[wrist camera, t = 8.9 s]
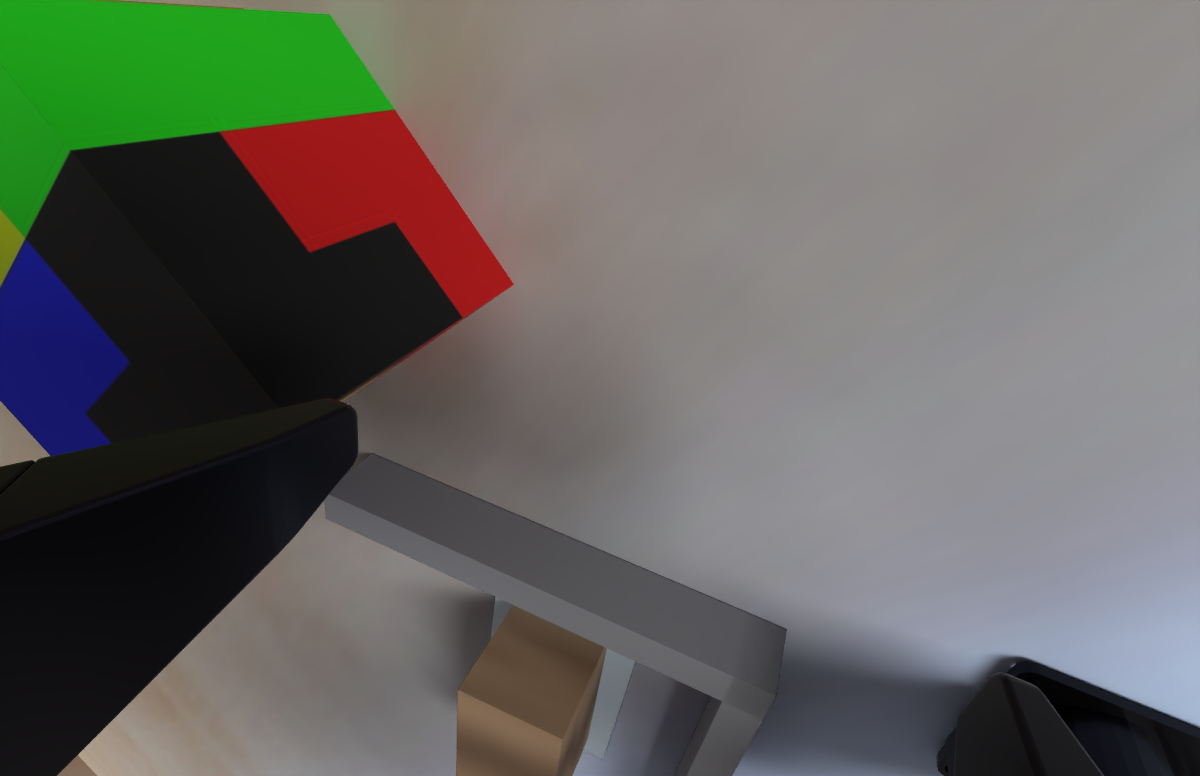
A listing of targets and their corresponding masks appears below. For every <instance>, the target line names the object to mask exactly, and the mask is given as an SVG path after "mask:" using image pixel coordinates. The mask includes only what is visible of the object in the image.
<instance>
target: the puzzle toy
mask: <svg viewBox="0 0 1200 776" xmlns="http://www.w3.org/2000/svg"><path fill="white" fill-rule="evenodd" d="M512 285H514V284H513V283H512V281H511V280H510V278H509V277H508V275H507V274H506V272H505V271H504V269H503V268H502V266H501V265H500V263H499V262H498V261H497V259H496V258H495V256H494V255H493V253H492V252H491V250H490V249H489V247H488V246H487V244H486V243H485V241H484V240H483V239H482V237H481V236H480V234H479V233H478V231H477V230H476V228H475V227H474V225H473V224H472V222H471V221H470V219H469V218H468V217H467V215H466V214H465V212H464V211H463V209H462V208H461V206H460V205H459V203H458V202H457V200H456V199H455V197H454V196H453V195H452V193H451V192H450V190H449V189H448V187H447V186H446V184H445V183H444V181H443V180H442V178H441V177H440V175H439V174H438V173H437V171H436V170H435V168H434V167H433V165H432V164H431V162H430V161H429V159H428V158H427V156H426V155H425V153H424V152H423V151H422V149H421V148H420V146H419V145H418V143H417V142H416V140H415V139H414V137H413V136H412V134H411V133H410V131H409V130H408V129H407V127H406V126H405V124H404V123H403V121H402V120H401V118H400V117H399V115H398V114H397V112H396V111H395V109H394V108H393V107H392V105H391V104H390V102H389V101H388V99H387V98H386V96H385V95H384V93H383V92H382V90H381V89H380V87H379V86H378V84H377V83H376V82H375V80H374V79H373V77H372V76H371V74H370V73H369V71H368V70H367V68H366V67H365V65H364V64H363V62H362V61H361V60H360V58H359V57H358V55H357V54H356V52H355V51H354V49H353V48H352V46H351V45H350V43H349V42H348V40H347V39H346V38H345V36H344V35H343V33H342V32H341V30H340V29H339V27H338V26H337V24H336V23H335V21H334V20H333V18H332V17H331V16H330V14H323V13H307V12H291V11H275V10H260V9H244V8H228V7H212V6H197V5H181V4H165V3H149V2H134V1H118V0H0V401H1V402H2V403H3V404H4V405H5V406H6V407H7V409H8V410H9V411H10V412H11V413H12V414H13V415H14V416H15V417H16V418H17V419H18V421H19V422H20V423H21V424H22V425H23V426H24V427H25V428H26V429H27V430H28V432H29V433H30V434H31V435H32V436H33V437H34V438H35V439H36V440H37V441H38V442H39V444H40V445H41V446H42V447H43V448H44V449H45V450H46V451H47V452H48V453H49V455H50V456H54V455H59V454H64V453H69V452H73V451H78V450H83V449H88V448H92V447H97V446H102V445H107V444H111V443H116V442H121V441H126V440H130V439H135V438H140V437H145V436H149V435H154V434H159V433H164V432H168V431H173V430H178V429H183V428H187V427H192V426H197V425H202V424H206V423H211V422H216V421H221V420H225V419H230V418H235V417H240V416H244V415H249V414H254V413H259V412H263V411H268V410H273V409H278V408H282V407H287V406H292V405H297V404H301V403H306V402H311V401H316V400H321V399H326V398H331V399H335V400H338V401H340V402H343V401H345V400H346V399H348V398H349V397H351V396H352V395H354V394H355V393H357V392H358V391H360V390H361V389H363V388H364V387H365V386H367V385H368V384H370V383H371V382H373V381H374V380H376V379H377V378H379V377H380V376H381V375H383V374H384V373H386V372H387V371H389V370H390V369H392V368H393V367H395V366H396V365H397V364H399V363H400V362H402V361H403V360H405V359H406V358H408V357H409V356H411V355H412V354H413V353H415V352H416V351H418V350H419V349H421V348H422V347H424V346H425V345H427V344H428V343H429V342H431V341H432V340H434V339H435V338H437V337H438V336H440V335H441V334H443V333H444V332H445V331H447V330H448V329H450V328H451V327H453V326H454V325H456V324H457V323H459V322H460V321H461V320H463V319H464V318H466V317H467V316H469V315H470V314H472V313H473V312H475V311H476V310H477V309H479V308H480V307H482V306H483V305H485V304H486V303H488V302H489V301H491V300H492V299H493V298H495V297H496V296H498V295H499V294H501V293H502V292H504V291H505V290H507V289H508V288H509V287H511V286H512Z"/></svg>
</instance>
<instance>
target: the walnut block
mask: <svg viewBox="0 0 1200 776" xmlns="http://www.w3.org/2000/svg"><path fill="white" fill-rule="evenodd" d="M606 650H607V648H605V647H603V646H601V645H599V644H597V643H594V642H592V641H590V640H588V639H586V638H584V637H581V636H579V635H577V634H575V633H573V632H571V631H568V630H566V629H564V628H562V627H560V626H558V625H555V624H553V623H551V622H549V621H547V620H545V619H542V618H540V617H538V616H536V615H534V614H532V613H530V612H527V611H525V610H523V609H521V608H519V607H517V606H514V605H513V606H512V608H511V609H510V611H509V612H508V614H507V615H506V617H505V618H504V620H503V621H502V623H501V624H500V626H499V628H498V629H497V631H496V632H495V634H494V635H493V637H492V638H491V640H490V641H489V643H488V644H487V646H486V647H485V649H484V650H483V652H482V654H481V655H480V657H479V658H478V660H477V661H476V663H475V664H474V666H473V667H472V669H471V670H470V672H469V673H468V675H467V676H466V678H465V680H464V681H463V683H462V684H461V686H460V687H459V689H458V706H457V761H456V776H572V775H573V773H574V770H575V768H576V766H577V763H578V761H579V758H580V756H581V754H582V751H583V749H584V747H585V744H586V742H587V739H588V736H589V731H590V726H591V721H592V717H593V712H594V707H595V702H596V698H597V693H598V688H599V683H600V679H601V674H602V669H603V664H604V660H605V655H606Z"/></svg>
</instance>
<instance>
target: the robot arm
mask: <svg viewBox="0 0 1200 776" xmlns="http://www.w3.org/2000/svg"><path fill="white" fill-rule="evenodd" d="M357 454H358V427H357V413H356V411H355V409H354V408H353V407H352V406H350V405H348V404H345V403H343V402H340V401H338V400H335V399H331V398H326V399H321V400H316V401H311V402H306V403H301V404H297V405H292V406H287V407H282V408H278V409H273V410H268V411H263V412H259V413H254V414H249V415H244V416H240V417H235V418H230V419H225V420H221V421H216V422H211V423H206V424H202V425H197V426H192V427H187V428H183V429H178V430H173V431H168V432H164V433H159V434H154V435H149V436H145V437H140V438H135V439H130V440H126V441H121V442H116V443H111V444H107V445H102V446H97V447H92V448H88V449H83V450H78V451H73V452H69V453H64V454H59V455H54V456H49V457H45V458H40V459H38V460H37V461H36V462H35V461H32V460H30V461H25V462H20V463H16V464H11V465H6V466H2V467H0V776H57V775H58V774H59V773H60V772H61V771H62V770H63V769H64V768H65V767H66V766H67V765H68V764H69V763H70V762H71V761H72V760H73V759H74V758H75V757H76V756H77V755H78V754H79V753H80V752H81V751H82V750H83V749H84V748H85V747H86V746H87V745H88V744H89V743H90V742H91V741H92V740H93V739H94V738H95V737H96V736H97V735H98V734H99V733H100V732H101V731H102V730H103V729H104V728H105V727H106V726H107V725H108V724H109V723H110V722H111V721H112V720H113V719H114V718H115V717H116V716H117V715H118V714H119V713H120V712H121V711H122V710H123V709H124V708H125V707H126V706H127V705H128V704H129V703H130V702H131V701H132V700H133V699H134V698H135V697H136V696H137V695H138V694H139V693H140V692H141V691H142V690H143V689H144V688H145V687H146V686H147V685H148V684H149V683H150V682H151V681H152V680H153V679H154V678H155V677H156V676H157V675H158V674H159V673H160V672H161V671H162V670H163V669H164V668H165V667H166V666H167V665H168V664H169V663H170V662H171V661H172V660H173V659H174V658H175V657H176V656H177V655H178V654H179V653H180V652H181V651H182V650H183V649H184V648H185V647H186V646H187V645H188V644H189V643H190V642H191V641H192V640H193V639H194V638H195V637H196V636H197V635H198V634H199V633H200V632H201V631H202V630H203V629H204V628H205V627H206V626H207V625H208V624H209V623H210V622H211V621H212V620H213V619H214V618H215V617H216V616H217V615H218V614H219V613H220V612H221V611H222V610H223V609H224V608H225V607H226V606H227V605H228V604H229V603H230V602H231V601H232V600H233V599H234V598H235V597H236V596H237V595H238V594H239V593H240V592H241V591H242V590H243V589H244V588H245V587H246V586H247V585H248V584H249V583H250V582H251V581H252V580H253V579H254V578H255V577H256V576H257V575H258V574H259V573H260V572H261V571H262V570H263V569H264V568H265V567H266V566H267V565H268V564H269V563H270V562H271V561H272V560H273V559H274V558H275V557H276V556H277V555H278V554H279V552H280V551H281V550H282V549H283V548H284V547H285V546H286V545H287V544H288V543H289V542H290V541H291V540H292V538H293V537H294V536H295V535H296V534H297V533H298V532H299V530H300V529H301V528H302V527H303V526H304V524H305V523H306V522H307V521H308V519H309V518H310V517H311V516H312V515H313V513H314V512H315V511H316V510H317V508H318V507H319V506H320V505H321V504H322V502H323V501H324V500H325V499H326V497H327V496H328V495H329V494H330V493H331V491H332V490H333V489H334V488H335V486H336V485H337V484H338V483H339V481H340V480H341V479H342V478H343V477H344V475H345V474H346V473H347V472H348V470H349V469H350V468H351V467H352V465H353V464H354V462H355V460H356V458H357ZM1027 678H1034V679H1027ZM936 758H937V768H938V771H939V772H940V773H941V774H942V775H944V776H1200V729H1198V728H1195V727H1193V726H1190V725H1188V724H1185V723H1183V722H1180V721H1178V720H1175V719H1173V718H1170V717H1168V716H1165V715H1163V714H1160V713H1158V712H1155V711H1153V710H1150V709H1148V708H1145V707H1143V706H1140V705H1138V704H1135V703H1133V702H1130V701H1128V700H1125V699H1123V698H1120V697H1118V696H1115V695H1113V694H1110V693H1108V692H1105V691H1103V690H1100V689H1098V688H1095V687H1093V686H1090V685H1088V684H1085V683H1083V682H1080V681H1078V680H1075V679H1073V678H1070V677H1068V676H1065V675H1063V674H1060V673H1058V672H1055V671H1053V670H1050V669H1048V668H1045V667H1043V666H1040V665H1038V664H1034V663H1031V662H1022V663H1018V664H1016V665H1015V666H1013V667H1012V668H1011V670H1010V671H1009V672H1008V673H1003V672H997V673H995V674H993V675H992V676H991V677H989V678H988V680H987V681H986V682H985V683H984V684H983V686H982V687H981V688H980V689H979V690H978V692H977V693H976V694H975V695H974V696H973V697H972V699H971V700H970V701H969V702H968V703H967V705H966V706H965V707H964V708H963V710H962V712H961V714H960V716H959V719H958V724H957V727H956V728H955V729H954V730H953V732H952V733H951V734H950V735H949V736H948V737H947V739H946V740H945V746H944V747H943V748H942V749H941V751H940V752H939V753H938V754H937V757H936Z"/></svg>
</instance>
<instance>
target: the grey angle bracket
mask: <svg viewBox="0 0 1200 776" xmlns="http://www.w3.org/2000/svg"><path fill="white" fill-rule="evenodd" d="M324 501H325V514H326V519H328V520H330V521H332V522H335V523H337V524H339V525H341V526H343V527H345V528H348V529H350V530H352V531H354V532H356V533H358V534H361V535H363V536H365V537H367V538H369V539H371V540H374V541H376V542H378V543H380V544H382V545H384V546H387V547H389V548H391V549H393V550H395V551H397V552H400V553H402V554H404V555H406V556H408V557H410V558H413V559H415V560H417V561H419V562H421V563H423V564H426V565H428V566H430V567H432V568H434V569H436V570H439V571H441V572H443V573H445V574H447V575H449V576H452V577H454V578H456V579H458V580H460V581H462V582H465V583H467V584H469V585H471V586H473V587H475V588H478V589H480V590H482V591H484V592H486V593H488V594H491V595H493V596H495V597H497V598H499V599H501V600H504V601H506V602H508V603H510V604H512V605H514V606H517V607H519V608H521V609H523V610H525V611H527V612H530V613H532V614H534V615H536V616H538V617H540V618H542V619H545V620H547V621H549V622H551V623H553V624H555V625H558V626H560V627H562V628H564V629H566V630H568V631H571V632H573V633H575V634H577V635H579V636H581V637H584V638H586V639H588V640H590V641H592V642H594V643H597V644H599V645H601V646H603V647H605V648H607V649H610V650H612V651H614V652H616V653H618V654H620V655H623V656H625V657H627V658H629V659H631V660H633V661H636V662H638V663H640V664H642V665H644V666H646V667H649V668H651V669H653V670H655V671H657V672H659V673H662V674H664V675H666V676H668V677H670V678H672V679H675V680H677V681H679V682H681V683H683V684H685V685H688V686H690V687H692V688H694V689H696V690H698V691H701V692H703V693H705V694H707V695H709V696H710V698H709V701H708V703H707V705H706V707H705V709H704V711H703V714H702V716H701V718H700V720H699V722H698V725H697V727H696V729H695V731H694V733H693V735H692V738H691V740H690V742H689V744H688V746H687V748H686V751H685V753H684V755H683V757H682V759H681V762H680V764H679V766H678V768H677V770H676V772H675V775H674V776H732V775H733V773H734V771H735V769H736V768H737V766H738V764H739V762H740V760H741V759H742V757H743V755H744V753H745V751H746V750H747V748H748V746H749V744H750V742H751V741H752V739H753V737H754V735H755V733H756V732H757V730H758V728H759V726H760V724H761V723H762V721H763V719H764V717H765V715H766V714H767V712H768V710H769V708H770V706H771V705H772V703H773V701H774V699H775V697H776V694H777V688H778V681H779V675H780V669H781V662H782V656H783V649H784V643H785V636H786V629H784V628H782V627H779V626H777V625H775V624H772V623H770V622H768V621H765V620H763V619H761V618H758V617H756V616H754V615H751V614H749V613H746V612H744V611H742V610H739V609H737V608H735V607H732V606H730V605H728V604H725V603H723V602H721V601H718V600H716V599H713V598H711V597H709V596H706V595H704V594H702V593H699V592H697V591H695V590H692V589H690V588H688V587H685V586H683V585H680V584H678V583H676V582H673V581H671V580H669V579H666V578H664V577H662V576H659V575H657V574H655V573H652V572H650V571H647V570H645V569H643V568H640V567H638V566H636V565H633V564H631V563H629V562H626V561H624V560H622V559H619V558H617V557H615V556H612V555H610V554H607V553H605V552H603V551H600V550H598V549H596V548H593V547H591V546H589V545H586V544H584V543H582V542H579V541H577V540H574V539H572V538H570V537H567V536H565V535H563V534H560V533H558V532H556V531H553V530H551V529H549V528H546V527H544V526H541V525H539V524H537V523H534V522H532V521H530V520H527V519H525V518H523V517H520V516H518V515H516V514H513V513H511V512H509V511H506V510H504V509H501V508H499V507H497V506H494V505H492V504H490V503H487V502H485V501H483V500H480V499H478V498H476V497H473V496H471V495H468V494H466V493H464V492H461V491H459V490H457V489H454V488H452V487H450V486H447V485H445V484H443V483H440V482H438V481H435V480H433V479H431V478H428V477H426V476H424V475H421V474H419V473H417V472H414V471H412V470H410V469H407V468H405V467H402V466H400V465H398V464H395V463H393V462H391V461H388V460H386V459H384V458H381V457H379V456H377V455H374V454H371V455H369V456H368V457H367V458H366V459H364V460H363V461H362V462H361V463H359V464H358V465H357V466H356V467H354V468H353V469H352V470H351V471H349V472H348V473H347V474H346V475H344V477H343V478H342V479H341V480H340V481H339V483H338V484H337V485H336V486H335V488H334V489H333V490H332V491H331V493H330V494H329V495H328V496H327V497H326V499H325V500H324Z"/></svg>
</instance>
